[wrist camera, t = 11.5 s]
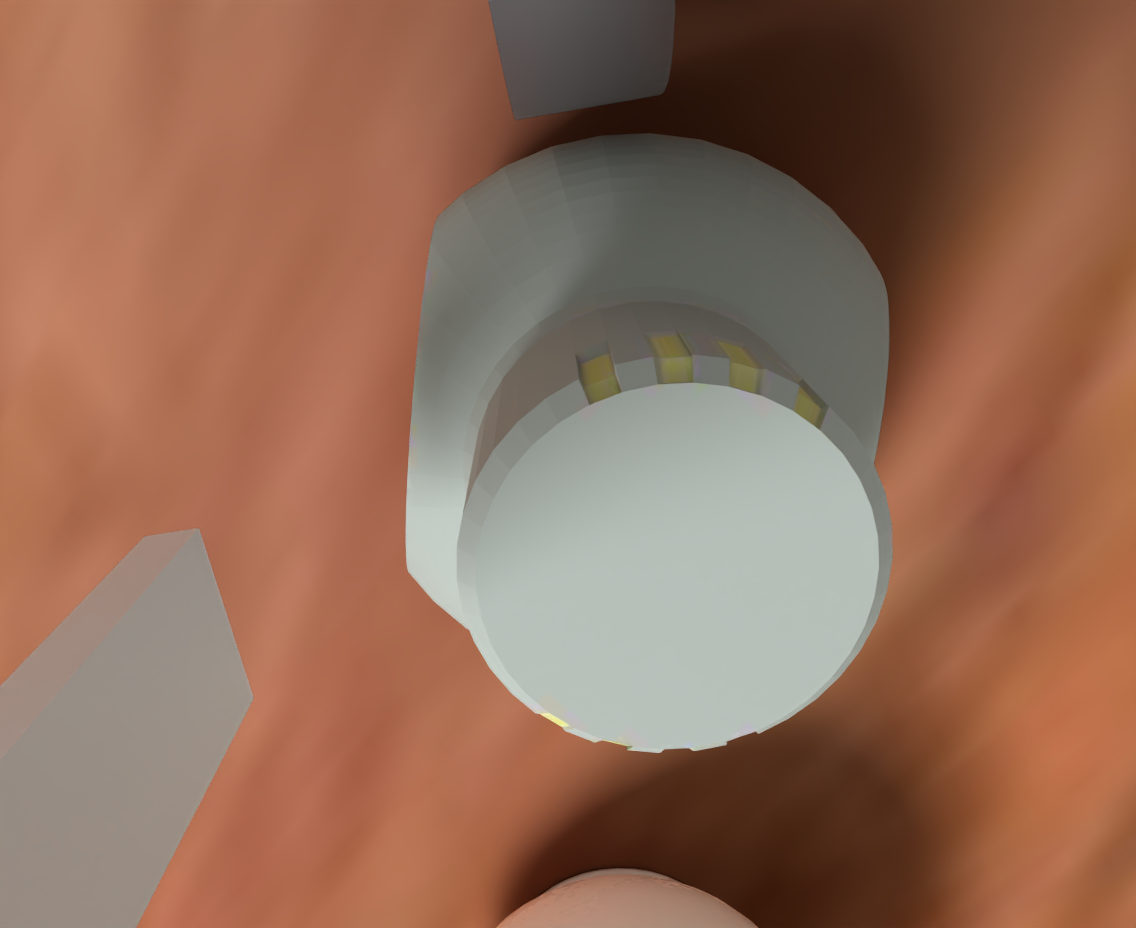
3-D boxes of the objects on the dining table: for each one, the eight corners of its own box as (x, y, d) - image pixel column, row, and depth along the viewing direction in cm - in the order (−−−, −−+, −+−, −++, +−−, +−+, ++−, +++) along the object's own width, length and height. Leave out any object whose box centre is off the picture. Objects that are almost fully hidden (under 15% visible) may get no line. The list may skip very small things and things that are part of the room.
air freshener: (755, 614, 24) (890, 928, 15) (424, 581, 24) (342, 885, 14) (848, 158, 21) (1106, 186, 11) (460, 109, 20) (383, 95, 11)
